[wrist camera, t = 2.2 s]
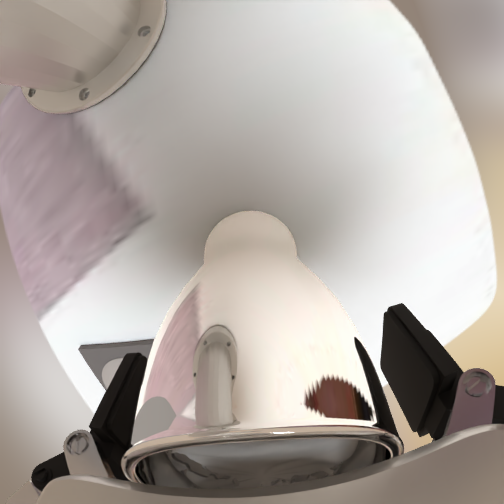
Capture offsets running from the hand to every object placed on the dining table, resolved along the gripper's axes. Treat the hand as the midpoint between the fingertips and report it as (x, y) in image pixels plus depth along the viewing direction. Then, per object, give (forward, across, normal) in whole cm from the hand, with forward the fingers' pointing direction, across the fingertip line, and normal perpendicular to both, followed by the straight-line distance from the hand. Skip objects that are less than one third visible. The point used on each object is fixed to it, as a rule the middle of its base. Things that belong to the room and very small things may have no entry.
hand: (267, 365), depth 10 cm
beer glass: (+10, 0, -1) cm, 10 cm away
